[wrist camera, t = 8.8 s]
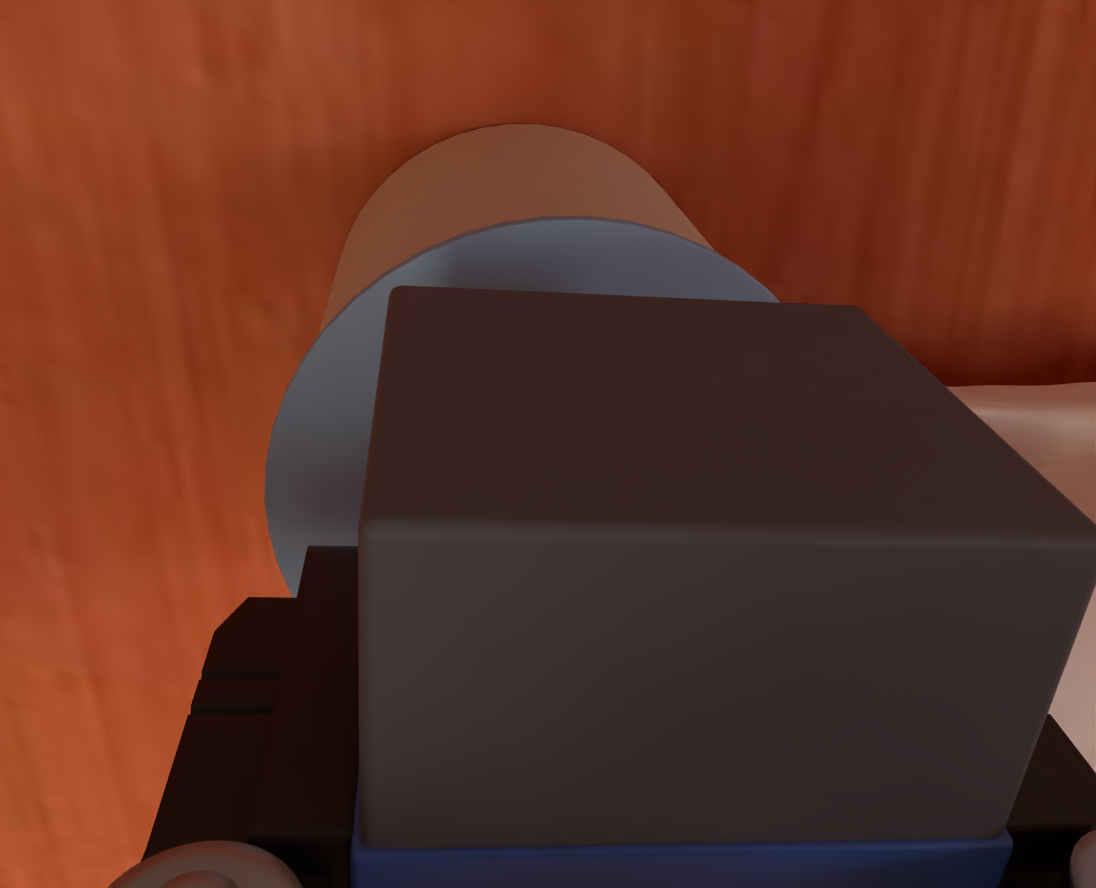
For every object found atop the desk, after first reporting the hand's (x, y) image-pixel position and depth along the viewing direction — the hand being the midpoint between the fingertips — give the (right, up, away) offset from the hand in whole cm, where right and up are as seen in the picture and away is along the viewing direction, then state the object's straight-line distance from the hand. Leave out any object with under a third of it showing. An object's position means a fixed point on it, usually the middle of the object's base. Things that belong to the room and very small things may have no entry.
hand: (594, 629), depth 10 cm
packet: (0, 0, 0) cm, 0 cm away
